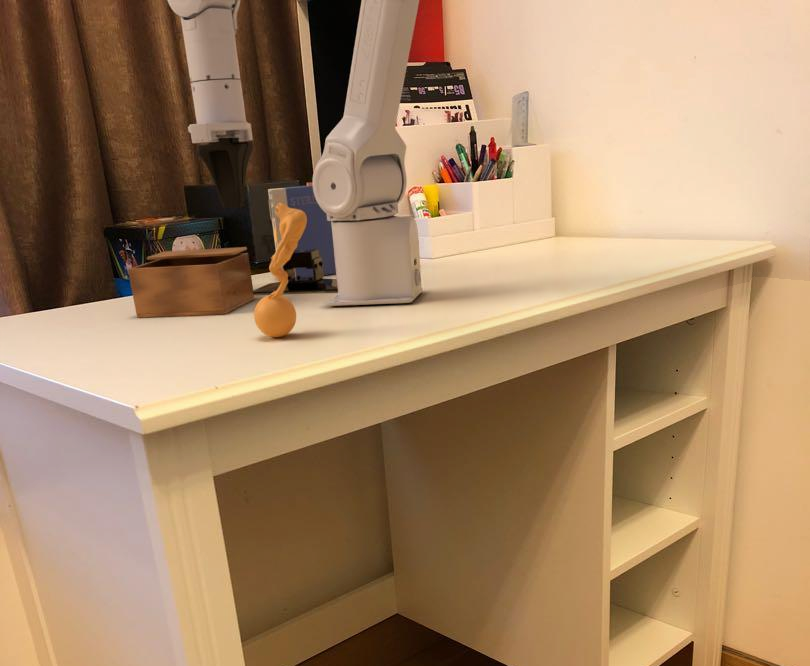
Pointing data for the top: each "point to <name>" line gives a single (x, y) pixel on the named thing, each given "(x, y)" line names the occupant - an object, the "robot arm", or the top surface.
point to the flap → (197, 253)
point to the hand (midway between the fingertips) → (233, 207)
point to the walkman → (316, 226)
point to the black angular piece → (303, 284)
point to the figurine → (281, 276)
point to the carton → (191, 285)
